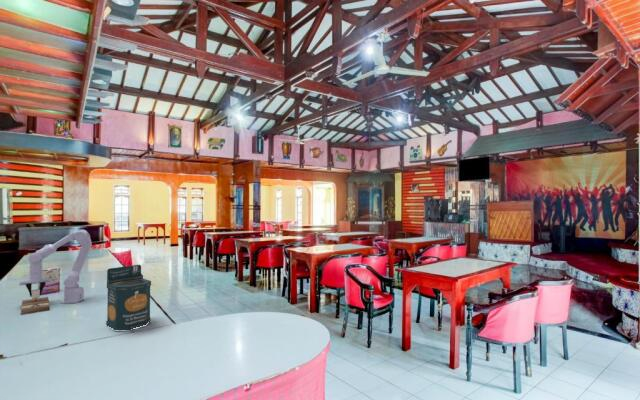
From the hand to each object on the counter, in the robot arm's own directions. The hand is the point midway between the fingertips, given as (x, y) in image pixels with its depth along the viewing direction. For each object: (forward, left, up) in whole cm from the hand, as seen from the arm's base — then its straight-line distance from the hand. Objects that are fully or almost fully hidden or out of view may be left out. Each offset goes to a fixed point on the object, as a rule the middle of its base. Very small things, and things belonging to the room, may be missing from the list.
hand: (35, 295), depth 198 cm
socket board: (-4, +5, -6) cm, 8 cm away
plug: (0, 0, -3) cm, 3 cm away
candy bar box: (+14, -27, -6) cm, 31 cm away
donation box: (-75, +34, -6) cm, 82 cm away
